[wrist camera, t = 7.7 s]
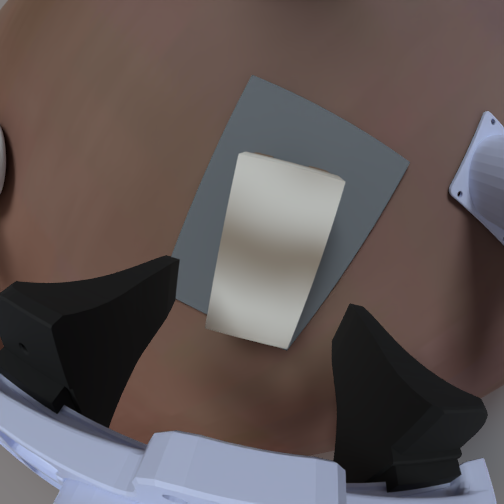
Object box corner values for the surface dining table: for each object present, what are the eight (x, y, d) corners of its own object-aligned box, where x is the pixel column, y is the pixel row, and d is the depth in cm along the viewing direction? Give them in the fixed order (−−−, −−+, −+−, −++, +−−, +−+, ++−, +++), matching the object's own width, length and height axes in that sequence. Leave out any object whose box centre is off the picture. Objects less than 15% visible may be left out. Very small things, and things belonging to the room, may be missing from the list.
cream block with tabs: (289, 297, 22) (287, 349, 16) (225, 281, 22) (205, 328, 17) (329, 168, 18) (345, 181, 12) (254, 148, 18) (238, 153, 13)
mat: (253, 76, 17) (252, 74, 16) (406, 161, 17) (410, 162, 17) (162, 286, 24) (159, 289, 23) (286, 346, 25) (286, 350, 24)
